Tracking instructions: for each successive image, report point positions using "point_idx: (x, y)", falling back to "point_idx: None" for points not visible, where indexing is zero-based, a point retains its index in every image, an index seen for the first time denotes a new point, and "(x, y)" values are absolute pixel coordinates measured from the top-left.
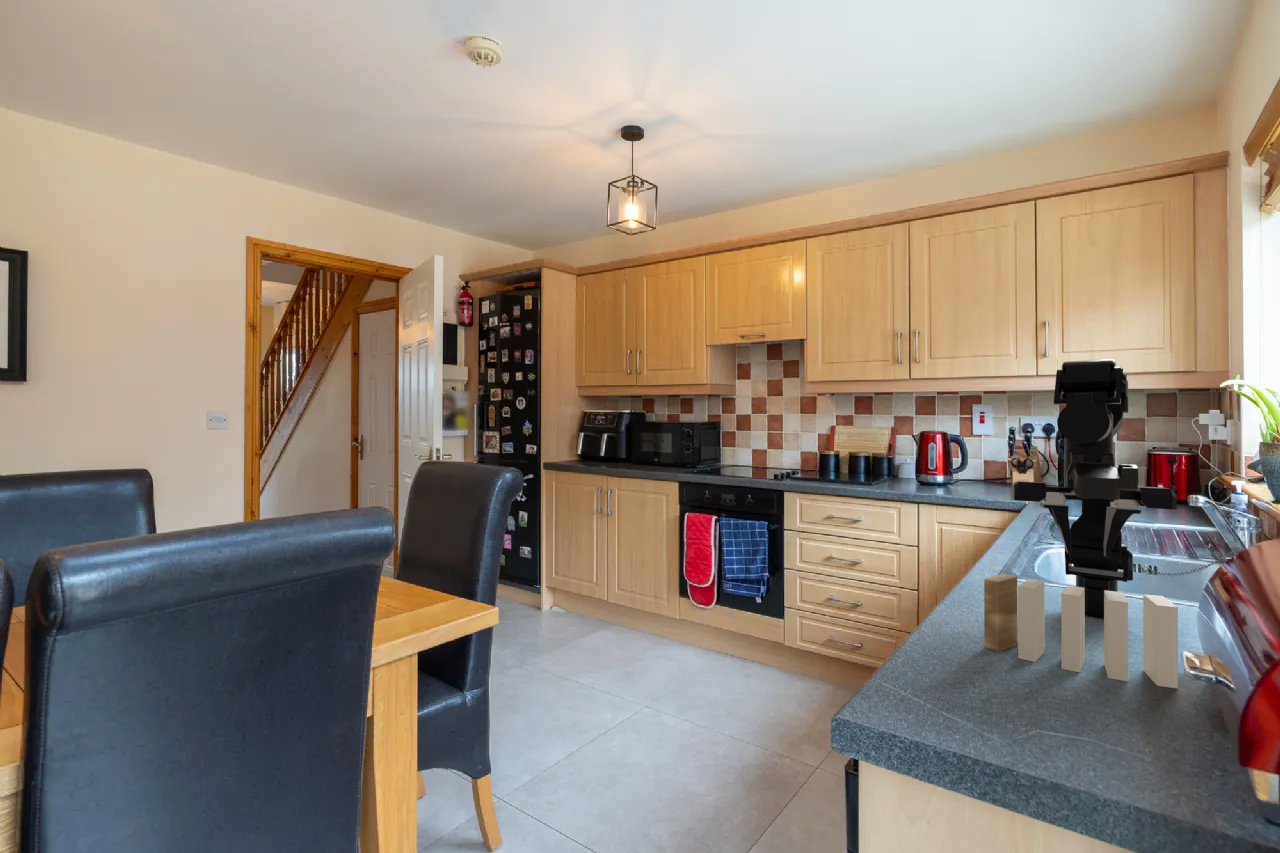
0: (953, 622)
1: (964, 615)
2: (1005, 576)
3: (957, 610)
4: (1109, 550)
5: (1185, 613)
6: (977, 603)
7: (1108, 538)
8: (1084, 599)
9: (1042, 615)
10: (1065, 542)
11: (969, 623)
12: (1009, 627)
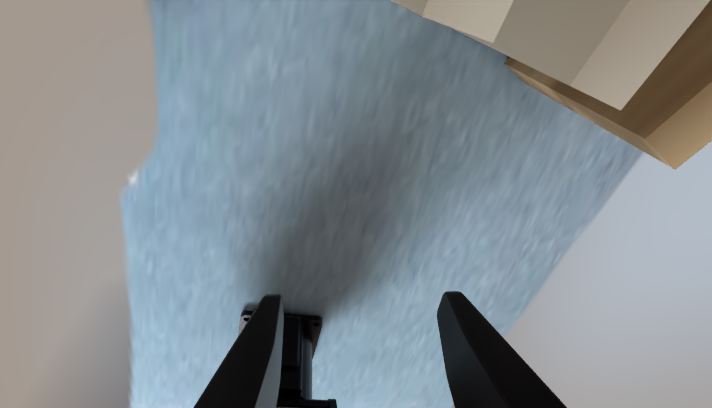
0: (585, 183)
1: (539, 235)
2: (698, 123)
3: (541, 259)
4: (258, 323)
5: (134, 379)
6: (484, 309)
7: (253, 396)
8: (409, 3)
9: (515, 24)
10: (503, 338)
11: (551, 189)
12: None
